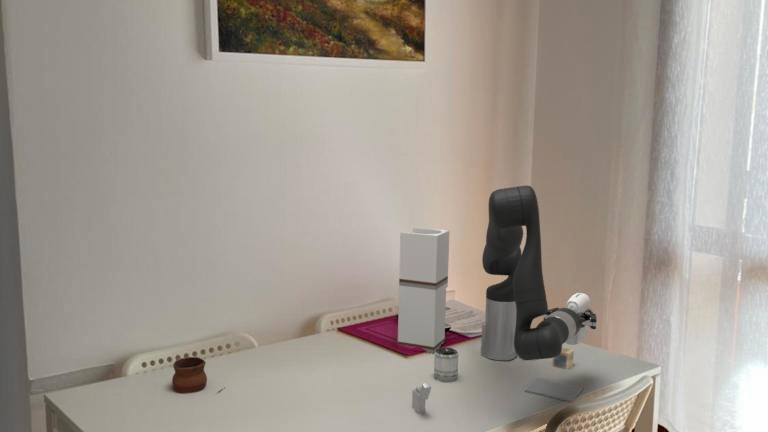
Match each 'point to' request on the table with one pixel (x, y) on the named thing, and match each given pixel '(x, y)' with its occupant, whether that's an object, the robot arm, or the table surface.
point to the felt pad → (554, 389)
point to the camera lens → (446, 364)
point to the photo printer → (576, 304)
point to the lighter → (420, 397)
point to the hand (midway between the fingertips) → (580, 311)
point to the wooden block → (564, 359)
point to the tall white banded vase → (423, 288)
